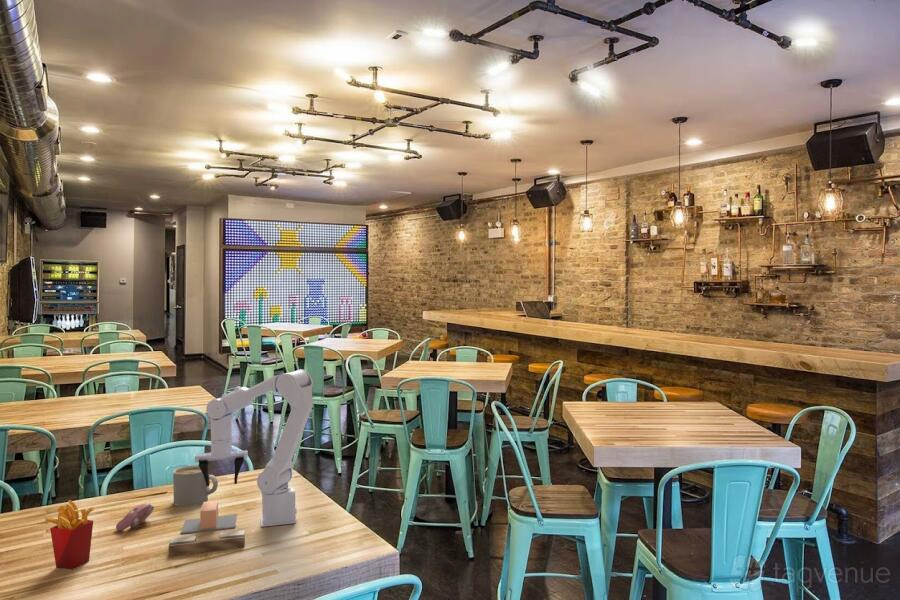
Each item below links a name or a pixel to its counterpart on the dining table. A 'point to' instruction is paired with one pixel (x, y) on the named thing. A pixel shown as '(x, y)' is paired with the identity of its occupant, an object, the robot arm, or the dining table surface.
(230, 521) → the slate pad
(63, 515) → the french fries
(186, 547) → the brown u-shaped block
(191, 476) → the coffee mug
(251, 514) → the dining table surface
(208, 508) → the salmon pillar
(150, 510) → the video game controller
